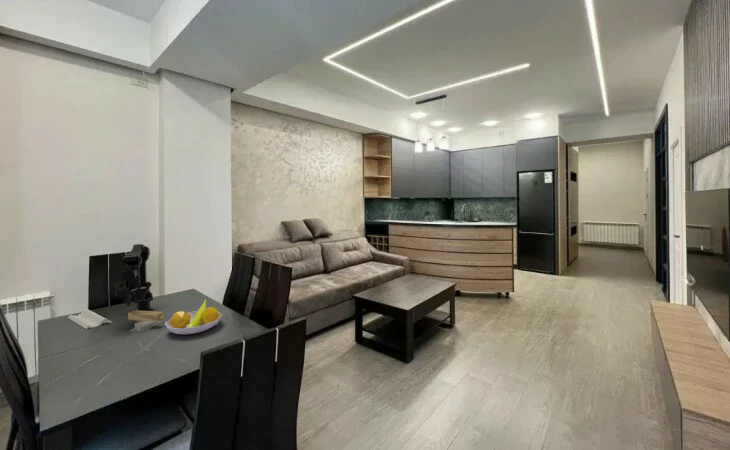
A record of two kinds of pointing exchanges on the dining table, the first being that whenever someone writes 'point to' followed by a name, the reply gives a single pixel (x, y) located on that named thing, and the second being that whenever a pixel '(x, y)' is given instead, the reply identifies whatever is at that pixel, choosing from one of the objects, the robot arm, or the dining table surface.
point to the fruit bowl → (193, 320)
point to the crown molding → (88, 319)
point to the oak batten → (145, 316)
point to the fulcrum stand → (144, 326)
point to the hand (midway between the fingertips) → (135, 303)
